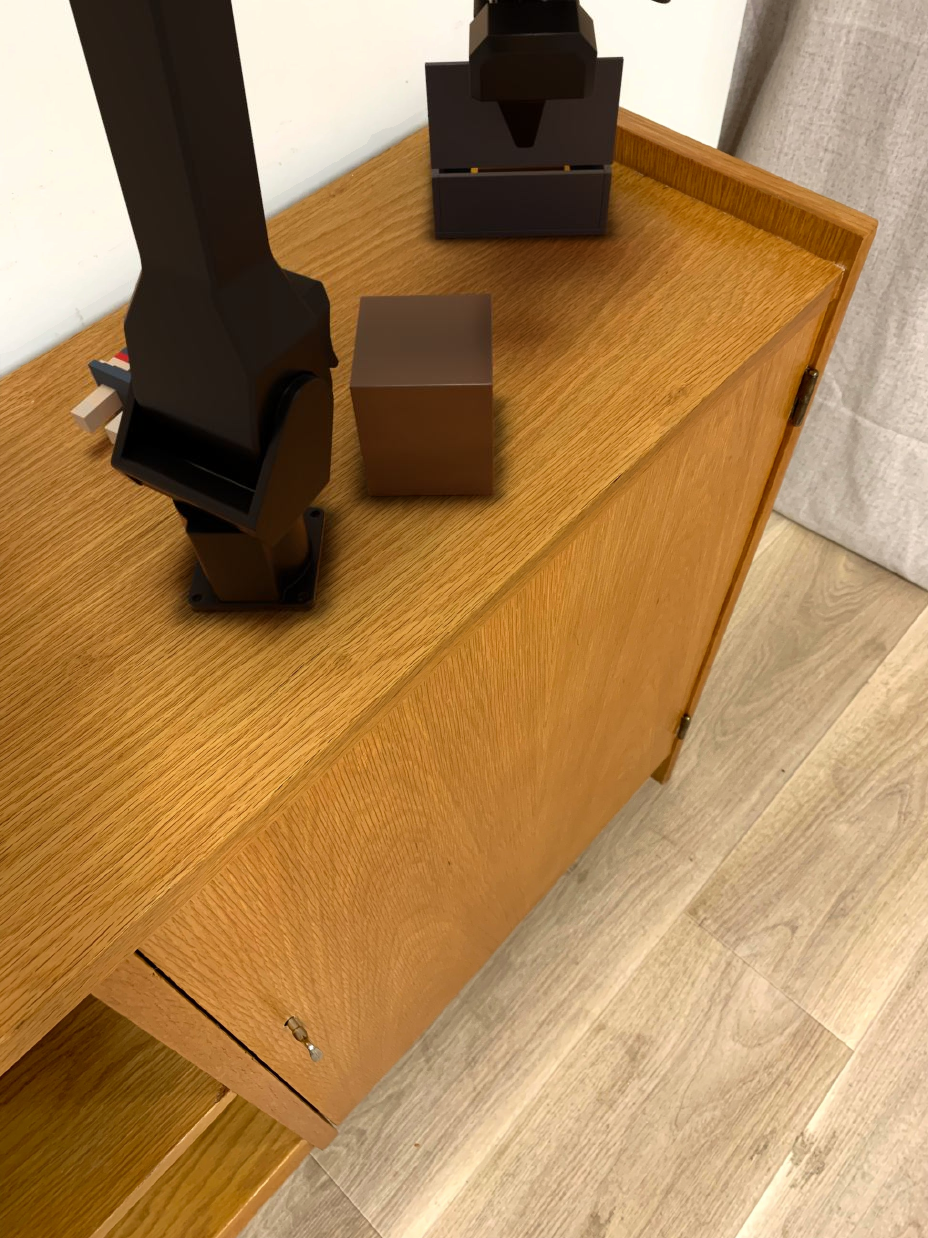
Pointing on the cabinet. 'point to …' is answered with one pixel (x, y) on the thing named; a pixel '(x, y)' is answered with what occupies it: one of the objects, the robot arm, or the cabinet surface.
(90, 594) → the cabinet surface
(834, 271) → the cabinet surface
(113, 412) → the figurine
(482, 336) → the stand
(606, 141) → the flap
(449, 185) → the case
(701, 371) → the cabinet surface
